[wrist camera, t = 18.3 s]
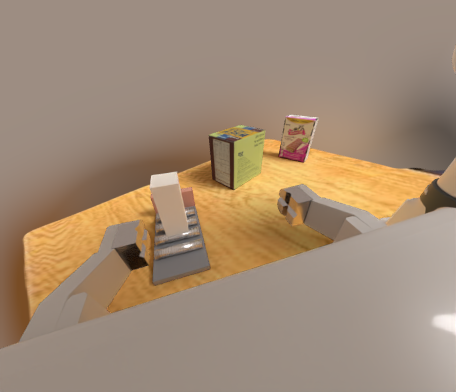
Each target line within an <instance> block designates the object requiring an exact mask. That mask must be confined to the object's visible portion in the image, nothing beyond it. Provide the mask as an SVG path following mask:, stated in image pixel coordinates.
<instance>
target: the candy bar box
mask: <svg viewBox="0 0 456 392" xmlns="http://www.w3.org/2000/svg"><path fill="white" fill-rule="evenodd" d="M317 122H318V118H315V117H305V116H296V115H288V116H286V118H285V123H284V129H283V135H282V140H281V146H280V151H279V157H282V158H287V159H291V160H296V161H300V162H305V160H306V159H307V157H308V154H309V150H310V147H311V143H312V140H313V136H314V133H315V129H316V126H317Z"/></svg>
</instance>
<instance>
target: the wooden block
mask: <svg viewBox="0 0 456 392" xmlns="http://www.w3.org/2000/svg"><path fill="white" fill-rule="evenodd" d="M150 190H151V193H152V196H153V199H154V202H155V205H156V208H157V210H158V213H159V216H160V219H161V222H162V225H163V228H164V230H165V233H166V236H167V237H170V236H174V235H179V234H183V233H187V232H189V229H188V222H187V217H186V212H185V207H184V203H183V198H182V194H181V189H180V185H179V180H178V176H177V172H172V173H165V174H158V175H152V176H151V184H150Z"/></svg>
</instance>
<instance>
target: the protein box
mask: <svg viewBox="0 0 456 392" xmlns="http://www.w3.org/2000/svg"><path fill="white" fill-rule="evenodd" d="M264 138H265V130H263V129H258V128H253V127H248V126H243V125H239V126H236V127H233V128H229V129H226V130H223V131H220V132H217V133H213V134H211V135H209V143H210V155H211V167H212V178H213V180H215V181H217V182H219V183H221V184H223V185H225V186H227V187H229V188H231V189H233V190H235V189H236V188H238V187H239V186H241V185H243V184H244V183H246V182H247V181H249V180H251V179H252V178H254V177H255V176H257V175H258V174H260V173H261V166H262V157H263V148H264Z"/></svg>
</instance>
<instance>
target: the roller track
mask: <svg viewBox="0 0 456 392" xmlns="http://www.w3.org/2000/svg"><path fill="white" fill-rule="evenodd" d="M181 194H182V198H183V203H184V207H185V212H186V217H187V222H188V229H189V232H187V233H183V234H179V235H174V236H170V237H167V236H166V233H165V230H164V228H163V225H162V222H161V219H160V216H159V213H158V210H157V208H156V205H155V202H154V199H153V196H152V194H151V201H152V203H153V206H154V209H155V212H156V225H155V246H154V266H153V284H154V285H158V284H162V283H165V282H168V281H172V280H175V279H178V278H182V277H185V276H189V275H192V274H195V273H199V272H202V271H205V270H209V269H210V264H209V260H208V256H207V252H206V248H205V244H204V240H203V236H202V232H201V227H200V223H199V219H198V215H197V211H196V207H195V202H194V196H193V190H192V187H189V188H184V189H181Z"/></svg>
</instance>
